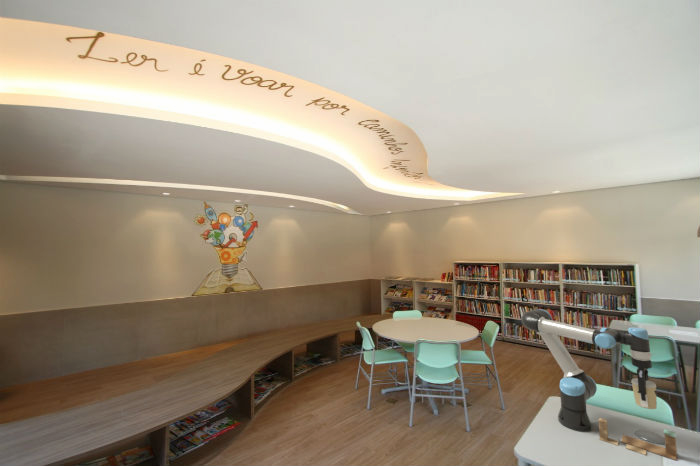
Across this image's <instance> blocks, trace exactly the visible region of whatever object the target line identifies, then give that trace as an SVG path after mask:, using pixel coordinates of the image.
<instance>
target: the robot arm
mask: <svg viewBox="0 0 700 466" xmlns="http://www.w3.org/2000/svg"><path fill="white" fill-rule="evenodd" d="M521 324H522V325H523V326H524V328H526V329H527V330H530V331H533V332H535V333H536V334H537V335H540V337H541V339H542V340H543V342H544V343H545V346H546V347H547V348H548V349H549V351H550V353H551V355H552V356H553V358H554V359H555V362H557V365H559V367H560V369H561V370H562V372H563V378H561V379H560V380H559V395H560V396H559V397H560V409H559V412H558V415H557V420H558V422H559V423H560V424H561V425H562V426H564V427H566V428H568V429H570V430H572V431H573V430H574V431H578V432H590V431H592V429H593V428H592V427H593V426H592V421H591V419H590V417H589V415H588V411H587V401H588V400H590V399H591V398H592V397H594V396H595V395H596V393H597V390H598V387H597V383H596V381H595V380H594V379H593V378H592V377H591V376H590V375H587V373H586V372H585V370H583V369H580V367H578V365H577V363H576V361H575V360H574V359H573V357H572V355H571V354H570V352H569V351H568V349H567V348H566V346H565V345H564V343H563V342H562V340H561V339H560V337H565V338H568V339H572V340H575V341H580V342H584V343H588V344H591V345H592V344H593V345H596V346H597V347H599V348H601V349H604V350H608V349H613V348H614V347H615V346H617V345H625V346H629V347H630V348H629V349H630V350H629V352H630V357H631V365H632V366H633V367H636V368H637V369H636V375H637V378H638V389H639V391H637V392H638V393H640V403H641V406H643V407H647V408H648V398H647V393H646V381H648V380H649V381H650V379H649V370H648V369H651V368H652V367H653V366H652V365H653V364H652V356H653V353H651V349H650V348H651V347H650V338H649V333H648V330H647V329H645V328H643V327H632V326H631V327H629V328H628V329H627V330H624V329H615V328H611V327H602V328H600V330H595V329H591V328H588V327H582V326H578V325H573V324H568V323H565V322H559V321H556V320H553V318H552V315H551V313H549V312H548V311H546V310H545V309H541V308H535V309H532V310H528V311H526V312H524V313H523V314H522V316H521ZM559 336H560V337H559ZM652 369H653V368H652ZM643 407H642V408H643ZM647 408H646V409H647Z"/></svg>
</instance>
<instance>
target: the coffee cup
mask: <svg viewBox="0 0 700 466" xmlns="http://www.w3.org/2000/svg"><path fill="white" fill-rule="evenodd" d="M631 385H632V390H633V396H634V400H635V404H636V406H638V407H640V408H643V409H647V410H656V409H657V403H658V402H657V385H656V383H655V382H654V381H652V380H650V379H649V380H648V381H646V393H647V398H648V408H647V407H643V406H641V403H640V393H638V392H637V391H639V389H638V377H637V378H632V379H631Z"/></svg>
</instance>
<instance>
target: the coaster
mask: <svg viewBox="0 0 700 466" xmlns="http://www.w3.org/2000/svg"><path fill="white" fill-rule="evenodd" d="M634 434H635V436H637V437H639V438H640V439H641V440H643V441H645V442H648V443H651V444H655V445H657V444H658V445H665V436H663V435H661V434H659V433H657V432H654V431H651V430H648V429H644V428H643V429H642V428H639V429H637V428H636V429H635V430H634Z"/></svg>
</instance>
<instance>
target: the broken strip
mask: <svg viewBox="0 0 700 466" xmlns="http://www.w3.org/2000/svg"><path fill="white" fill-rule="evenodd" d="M598 428H599V429H598V430H599V433H598V434H599V440H600V441H603V442H606V443H609V444H612V445H615V446H617V447H618V446H619V444H620V443H619V440H616V439H613V438H610V437H609V433H608V432H609V429H608V420H607V419H604V418H601V417H599V418H598ZM625 449H626V450H628V451H632V452H634V453H638V454H640V455H644V456H647V451H646V450H644V449H641V448H638V447H635V446H632V445H629V444H625Z"/></svg>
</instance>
